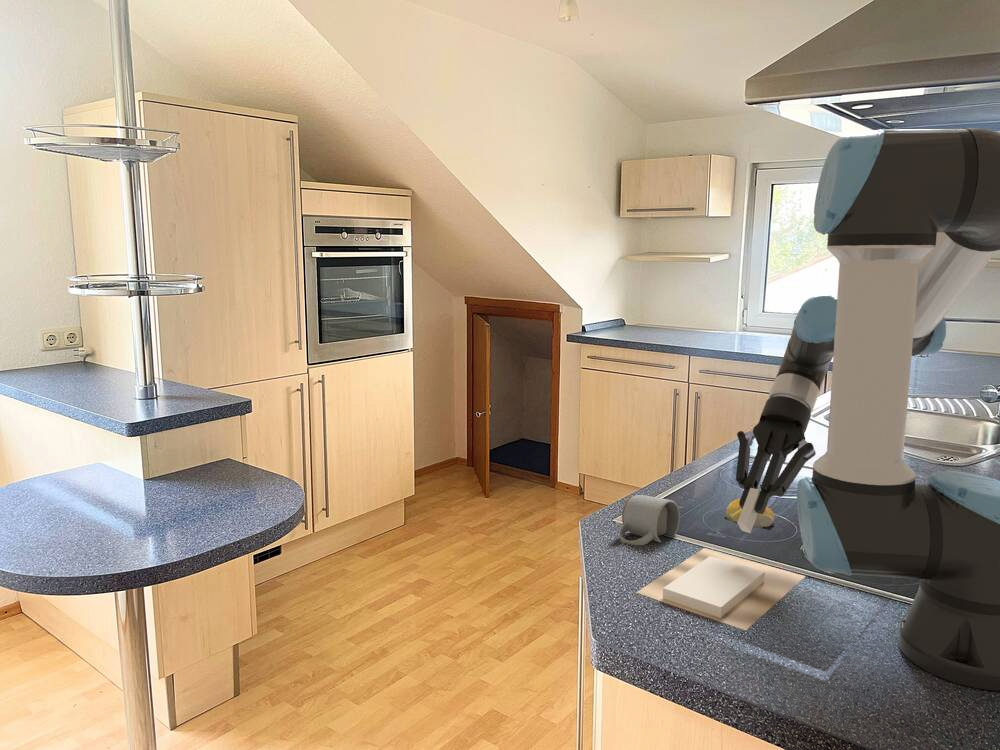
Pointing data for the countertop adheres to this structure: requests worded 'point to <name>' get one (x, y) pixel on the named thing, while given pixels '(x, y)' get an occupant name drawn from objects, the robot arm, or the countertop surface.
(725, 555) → the cork mat
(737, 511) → the bread roll
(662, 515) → the ceramic mug
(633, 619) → the countertop surface
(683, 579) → the ceramic tile
